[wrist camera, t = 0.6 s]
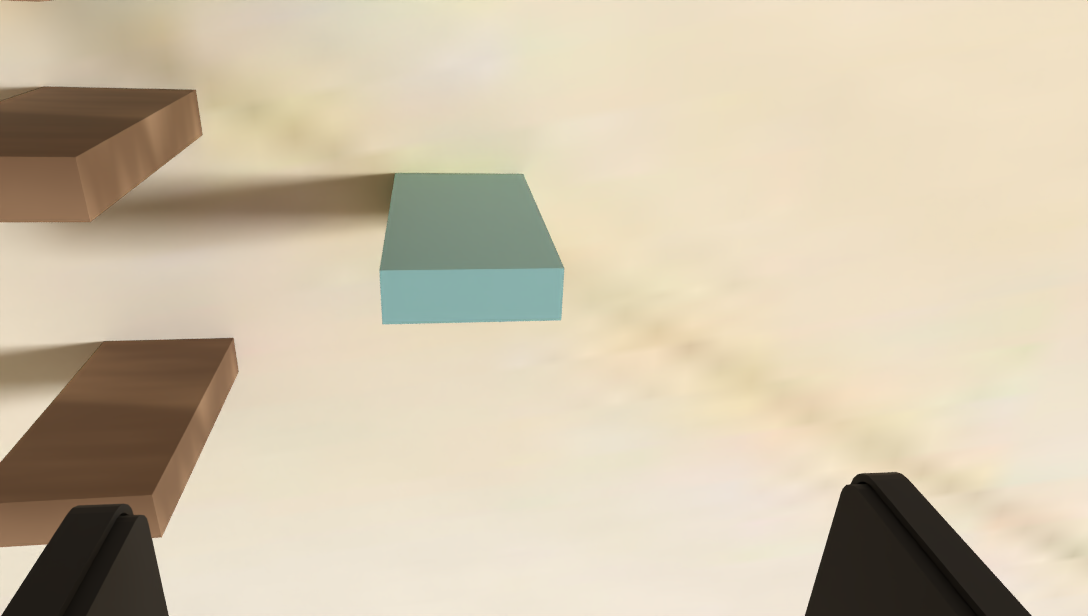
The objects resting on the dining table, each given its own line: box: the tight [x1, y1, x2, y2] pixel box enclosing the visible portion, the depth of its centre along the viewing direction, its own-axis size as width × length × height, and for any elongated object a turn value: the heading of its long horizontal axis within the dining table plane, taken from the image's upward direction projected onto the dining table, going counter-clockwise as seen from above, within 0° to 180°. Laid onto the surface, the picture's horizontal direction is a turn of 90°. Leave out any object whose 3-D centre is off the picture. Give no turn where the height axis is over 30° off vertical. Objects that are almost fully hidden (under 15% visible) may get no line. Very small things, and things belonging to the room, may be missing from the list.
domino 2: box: [0, 338, 239, 547], centre depth 26 cm, size 2×5×10 cm, turn 88°
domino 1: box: [0, 87, 202, 222], centre depth 22 cm, size 2×5×10 cm, turn 88°
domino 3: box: [380, 173, 564, 324], centre depth 25 cm, size 2×5×10 cm, turn 88°
